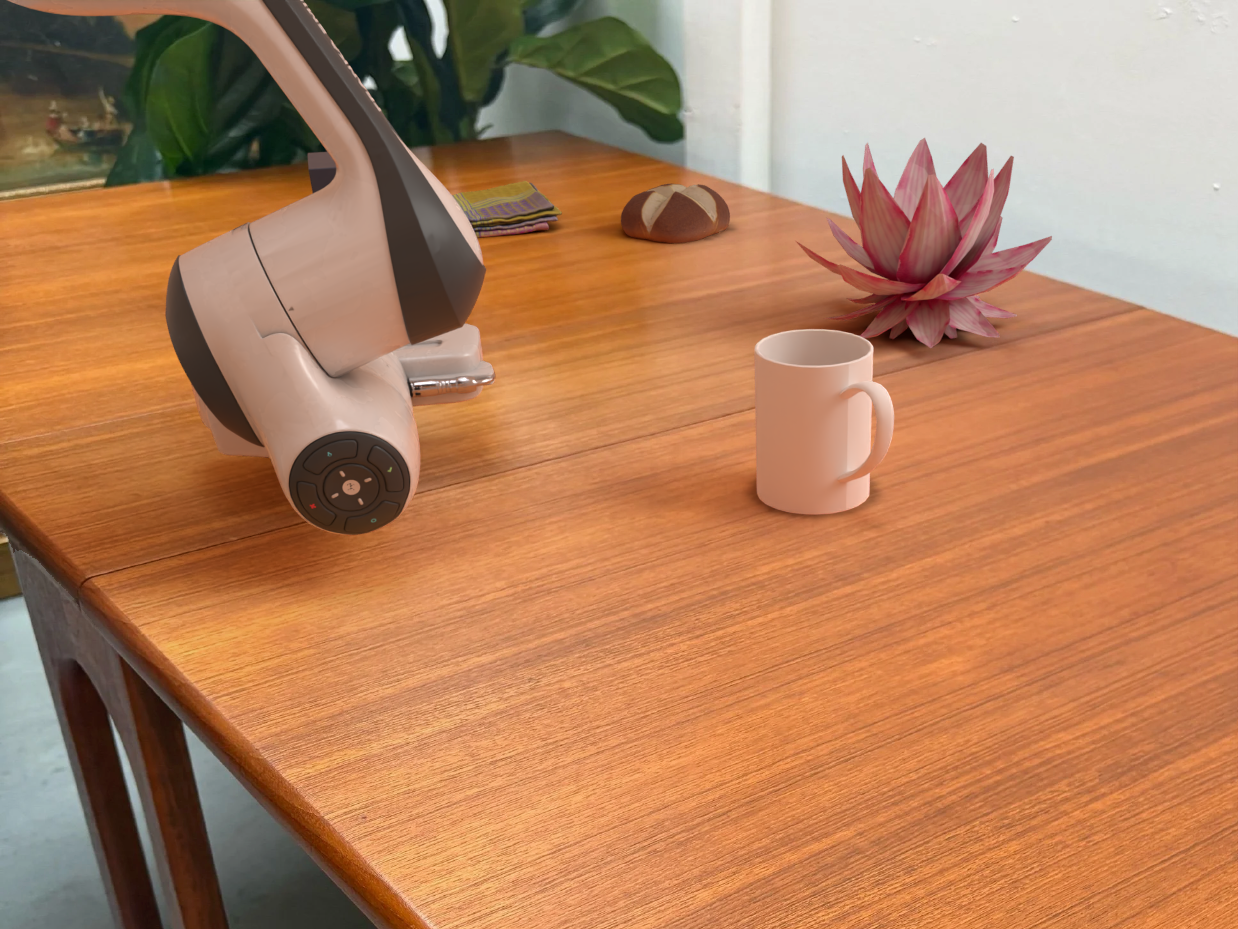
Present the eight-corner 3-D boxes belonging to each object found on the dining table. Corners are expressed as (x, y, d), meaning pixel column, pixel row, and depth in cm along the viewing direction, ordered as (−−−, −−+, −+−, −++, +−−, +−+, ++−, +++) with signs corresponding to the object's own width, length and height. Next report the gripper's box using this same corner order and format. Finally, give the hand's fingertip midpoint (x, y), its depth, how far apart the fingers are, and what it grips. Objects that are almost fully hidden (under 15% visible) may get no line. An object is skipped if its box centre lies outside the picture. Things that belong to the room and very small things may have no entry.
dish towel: (328, 214, 173) (323, 188, 171) (539, 198, 179) (537, 174, 177) (336, 252, 159) (332, 225, 157) (565, 234, 165) (563, 208, 163)
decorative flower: (760, 318, 139) (757, 144, 131) (953, 287, 148) (962, 121, 139) (880, 386, 124) (885, 194, 115) (1088, 347, 132) (1107, 164, 124)
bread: (746, 229, 166) (745, 182, 164) (680, 252, 159) (678, 202, 156) (668, 215, 172) (666, 169, 169) (601, 236, 164) (598, 188, 161)
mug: (735, 490, 106) (731, 342, 100) (826, 466, 110) (828, 321, 104) (835, 551, 98) (837, 393, 92) (930, 523, 101) (938, 369, 96)
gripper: (493, 338, 101) (473, 283, 112) (173, 364, 97) (184, 303, 108) (503, 428, 105) (482, 366, 116) (194, 457, 100) (203, 389, 111)
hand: (336, 336), depth 112 cm, fingers closed on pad, 3 cm apart
